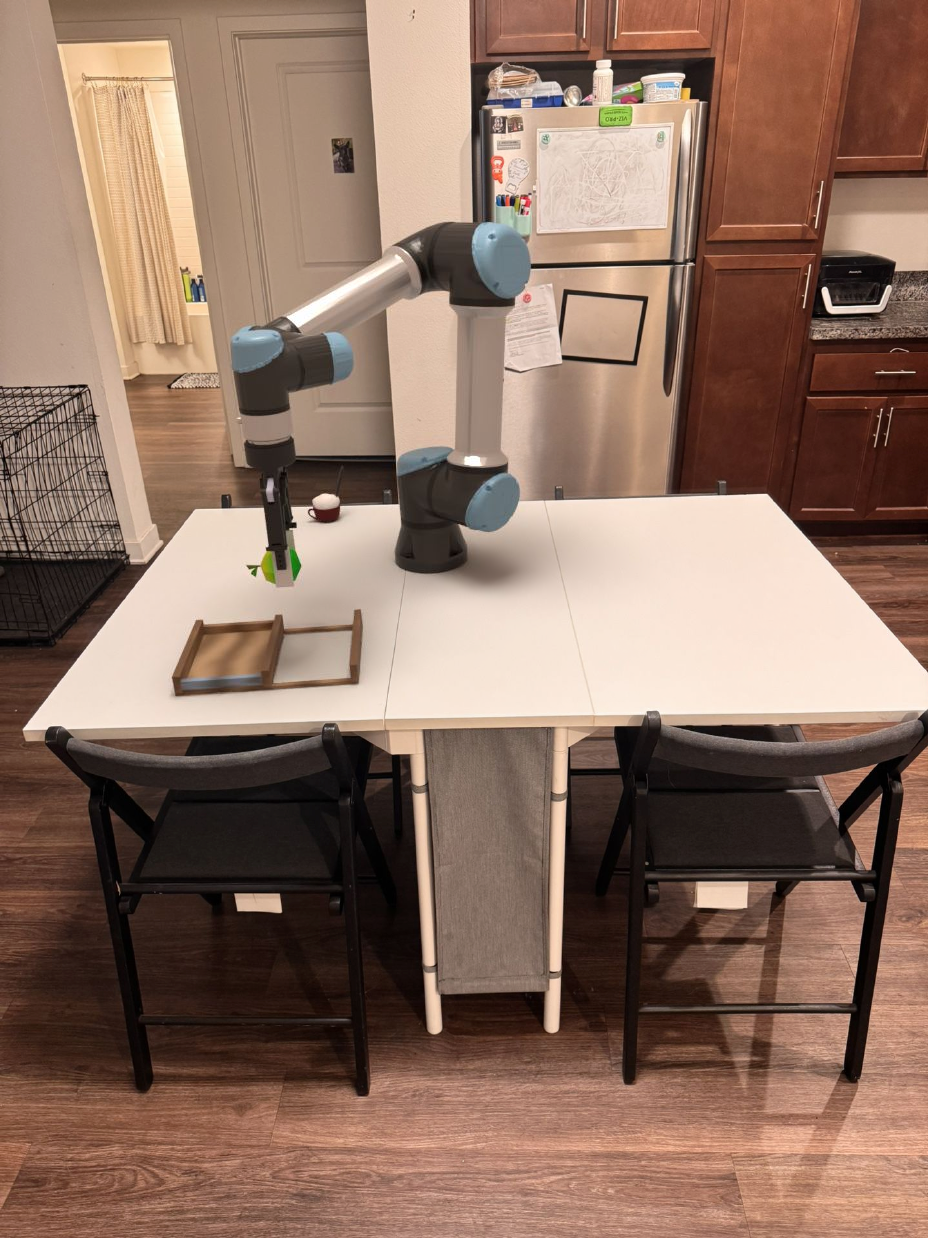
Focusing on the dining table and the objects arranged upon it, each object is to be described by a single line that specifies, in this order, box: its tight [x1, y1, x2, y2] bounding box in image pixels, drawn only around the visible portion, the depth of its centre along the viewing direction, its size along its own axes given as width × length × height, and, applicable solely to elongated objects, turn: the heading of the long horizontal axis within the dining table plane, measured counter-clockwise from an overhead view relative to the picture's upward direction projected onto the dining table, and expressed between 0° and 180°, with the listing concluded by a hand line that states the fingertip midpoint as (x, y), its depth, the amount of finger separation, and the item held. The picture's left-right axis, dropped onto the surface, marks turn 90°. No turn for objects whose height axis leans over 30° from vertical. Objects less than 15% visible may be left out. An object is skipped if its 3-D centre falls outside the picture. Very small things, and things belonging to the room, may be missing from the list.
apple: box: [245, 549, 302, 585], centre depth 150 cm, size 7×6×9 cm
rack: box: [171, 608, 364, 697], centre depth 157 cm, size 29×20×4 cm
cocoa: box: [307, 465, 345, 523], centre depth 214 cm, size 10×6×12 cm, turn 91°
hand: (287, 576), depth 150 cm, fingers closed on apple, 7 cm apart
